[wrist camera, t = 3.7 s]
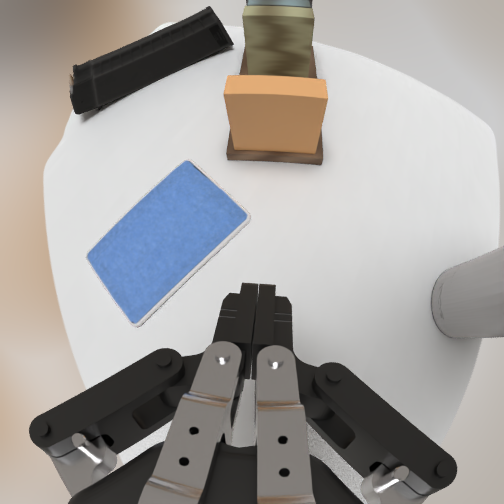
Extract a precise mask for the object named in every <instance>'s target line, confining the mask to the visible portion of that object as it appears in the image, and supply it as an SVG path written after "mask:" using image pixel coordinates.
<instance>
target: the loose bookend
mask: <svg viewBox="0 0 504 504" xmlns="http://www.w3.org/2000/svg"><path fill="white" fill-rule="evenodd" d="M224 99H225V104H226V109H227V114H228V119H229V124H230V129H231V134H232V139H233V145H234V150H253V151H276V152H293V153H306V154H315V153H316V149H317V144H318V140H319V136H320V132H321V127H322V123H323V119H324V114H325V110H326V105H327V101H328V95H327V87H326V80H323V79H314V78H303V77H289V76H267V75H229V76H227V81H226V85H225V90H224Z"/></svg>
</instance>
